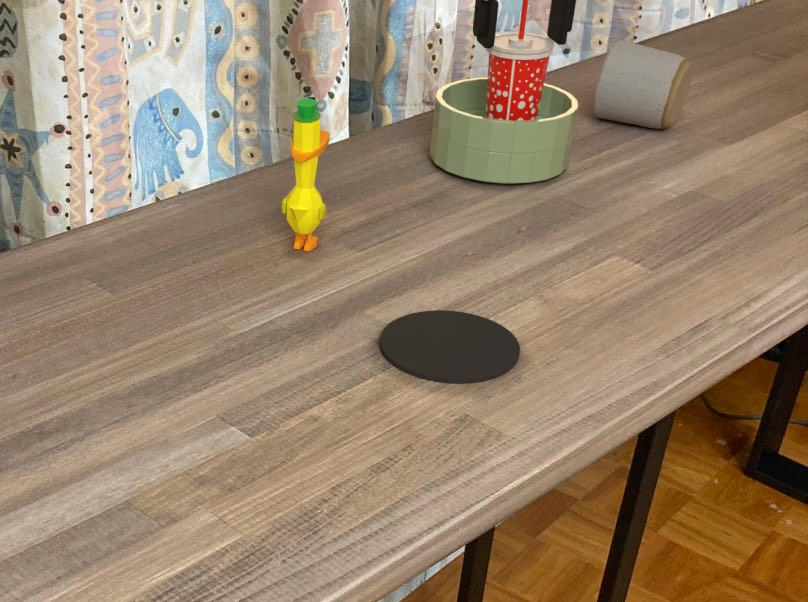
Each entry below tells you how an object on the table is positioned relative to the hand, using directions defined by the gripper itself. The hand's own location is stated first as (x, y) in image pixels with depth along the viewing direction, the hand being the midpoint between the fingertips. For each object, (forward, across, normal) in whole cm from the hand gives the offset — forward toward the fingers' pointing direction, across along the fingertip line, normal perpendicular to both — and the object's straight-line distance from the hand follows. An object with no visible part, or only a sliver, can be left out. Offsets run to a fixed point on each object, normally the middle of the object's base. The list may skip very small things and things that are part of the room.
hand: (520, 40), depth 102 cm
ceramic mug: (+12, +18, +11) cm, 24 cm away
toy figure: (+11, -23, -16) cm, 30 cm away
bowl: (+11, -1, 0) cm, 11 cm away
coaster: (+11, -16, -35) cm, 40 cm away
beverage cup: (+9, 0, 0) cm, 9 cm away
